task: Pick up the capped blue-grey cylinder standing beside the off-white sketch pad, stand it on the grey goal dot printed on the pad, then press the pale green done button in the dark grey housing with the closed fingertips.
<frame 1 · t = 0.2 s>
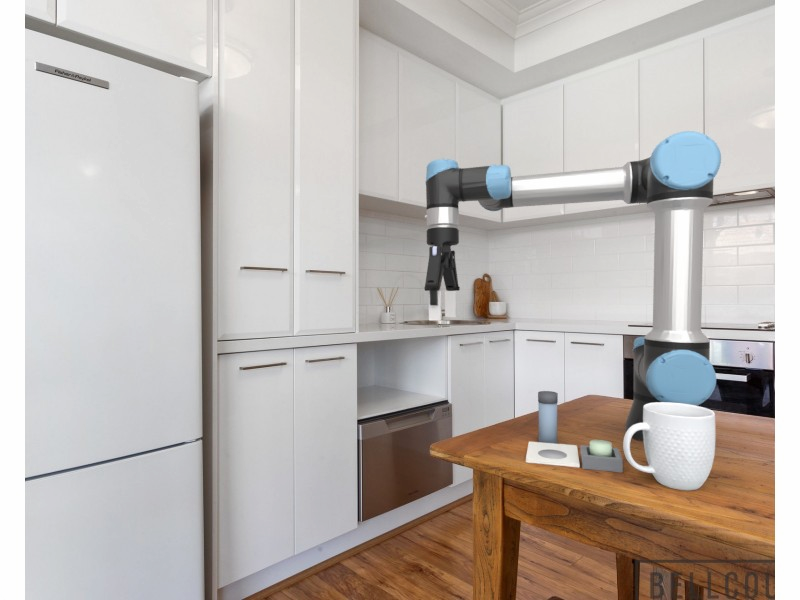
hand: (443, 318, 114), 28 cm above the table, fingers open, 13 cm apart
capped blue-grey cylinder: (547, 441, 109), on the table
button housing: (600, 464, 95), on the table
sketch pad: (552, 454, 100), on the table
done button: (600, 449, 95), point 3 cm above the table, slide at 0.0 cm
mug: (671, 484, 85), on the table
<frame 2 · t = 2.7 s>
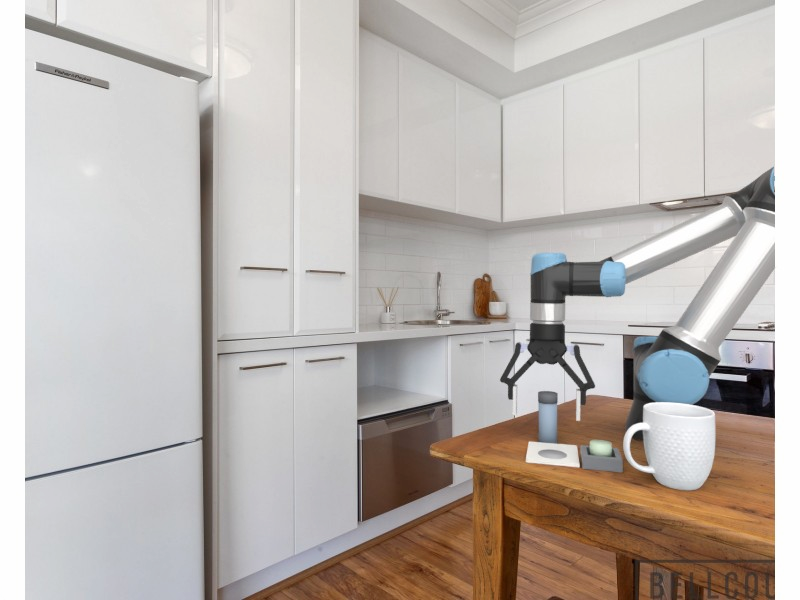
hand: (545, 416, 109), 6 cm above the table, fingers open, 13 cm apart
nothing on the table moved.
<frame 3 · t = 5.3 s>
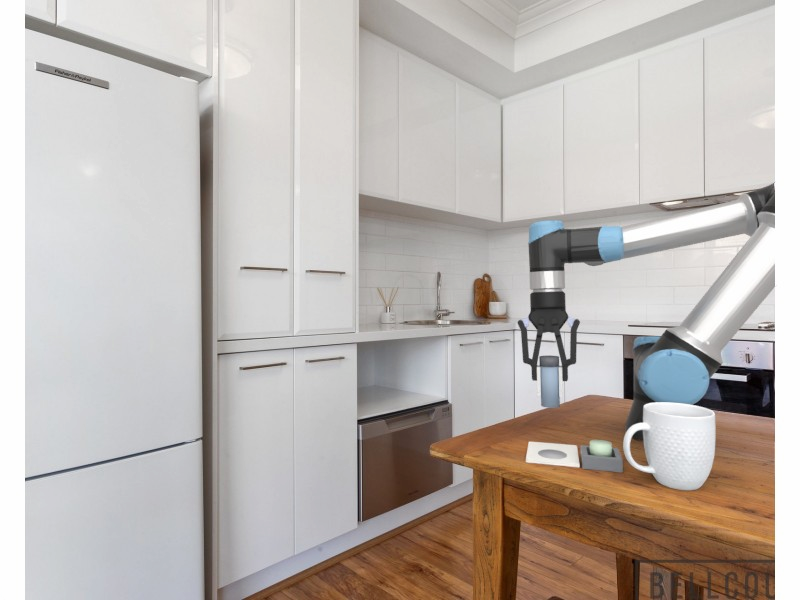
hand: (550, 395, 109), 11 cm above the table, fingers closed on capped blue-grey cylinder, 4 cm apart
capped blue-grey cylinder: (550, 405, 109), point 8 cm above the table, touching gripper
everything else where it was.
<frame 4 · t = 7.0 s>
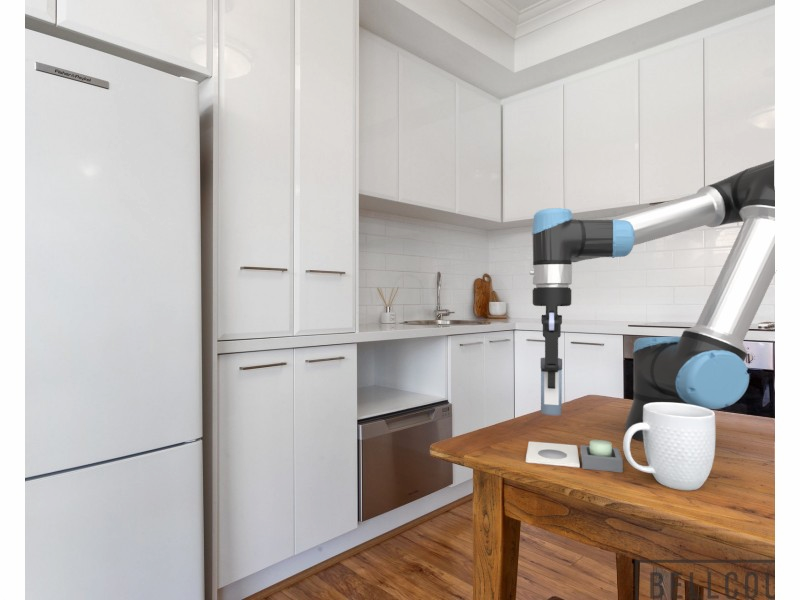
hand: (551, 401, 99), 11 cm above the table, fingers closed on capped blue-grey cylinder, 4 cm apart
capped blue-grey cylinder: (551, 412, 99), point 9 cm above the table, touching gripper
everything else where it was.
when the fingers open (2 cm above the table, at t = 9.3 s): capped blue-grey cylinder stays where it is, resting on sketch pad.
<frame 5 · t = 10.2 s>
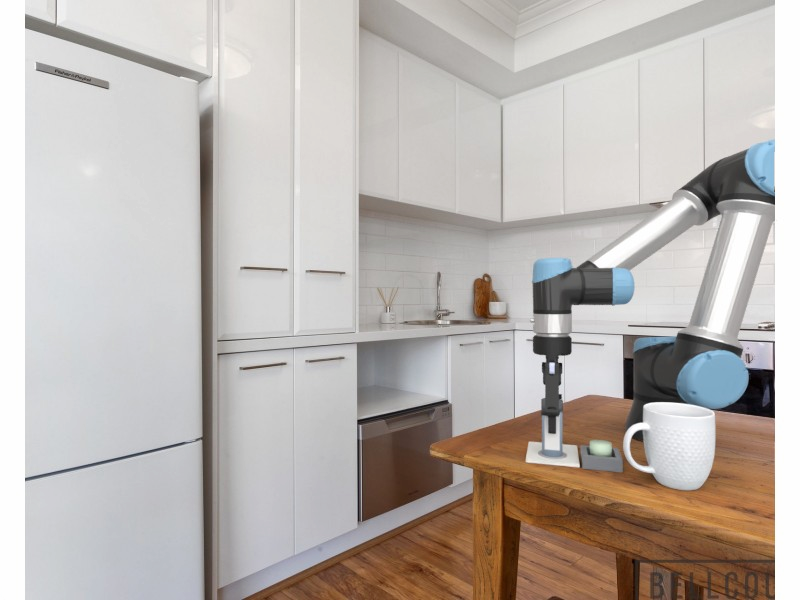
hand: (552, 439, 99), 4 cm above the table, fingers open, 13 cm apart
capped blue-grey cylinder: (552, 453, 99), point 1 cm above the table, touching sketch pad
everything else where it was.
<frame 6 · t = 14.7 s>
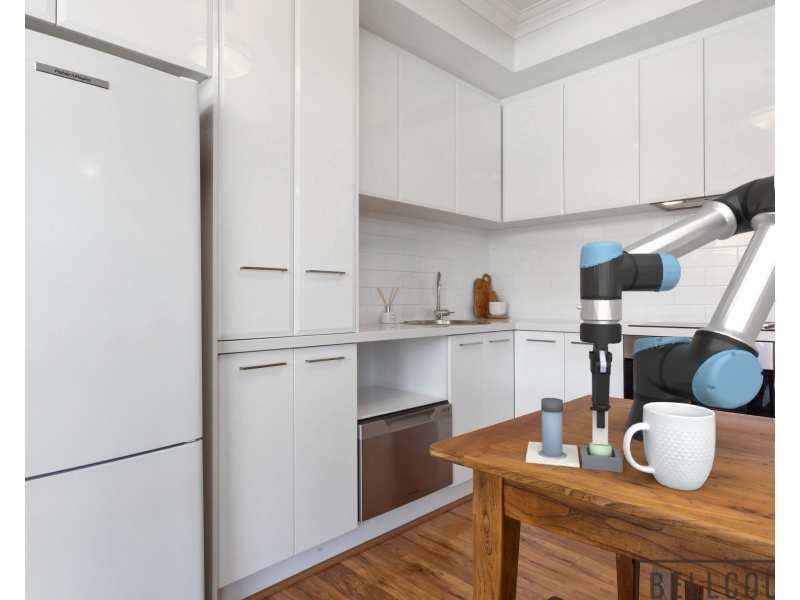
hand: (600, 443, 95), 4 cm above the table, fingers closed
done button: (600, 450, 95), point 3 cm above the table, slide at -0.3 cm, touching gripper
everything else where it was.
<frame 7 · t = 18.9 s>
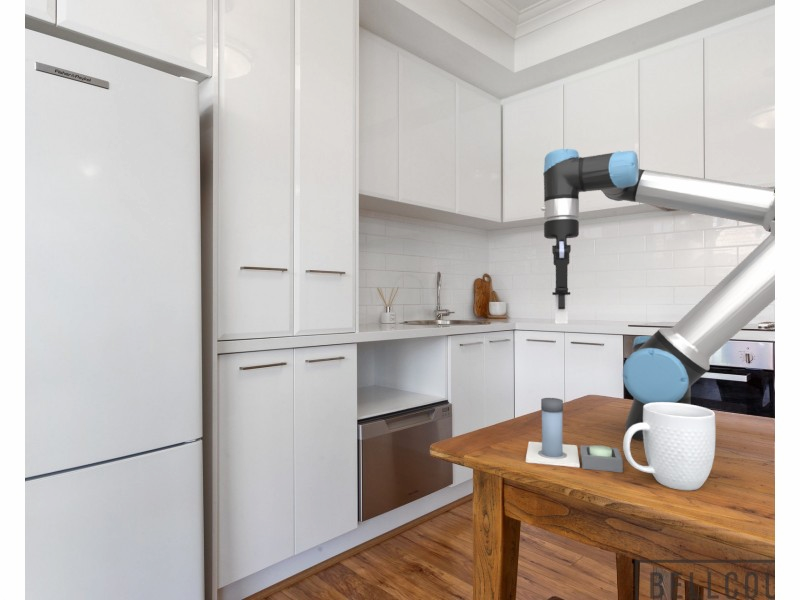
hand: (561, 323, 111), 26 cm above the table, fingers closed
done button: (600, 455, 95), point 2 cm above the table, slide at -1.1 cm
everything else where it was.
at the end: capped blue-grey cylinder 0.0 cm from the target spot, point 0.7 cm above the table; capped blue-grey cylinder tilted 0°; done button slide at -1.1 cm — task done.
